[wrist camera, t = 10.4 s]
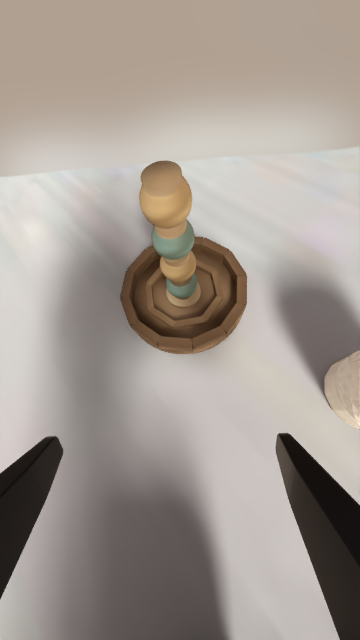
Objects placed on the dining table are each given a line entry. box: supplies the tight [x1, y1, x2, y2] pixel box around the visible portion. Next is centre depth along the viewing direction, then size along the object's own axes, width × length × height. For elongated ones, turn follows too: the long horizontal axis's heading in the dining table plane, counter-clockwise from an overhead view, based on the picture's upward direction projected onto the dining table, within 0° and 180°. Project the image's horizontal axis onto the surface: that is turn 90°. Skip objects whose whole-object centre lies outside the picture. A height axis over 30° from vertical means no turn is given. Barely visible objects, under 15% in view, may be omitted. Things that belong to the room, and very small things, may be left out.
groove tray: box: [120, 237, 247, 354], centre depth 25 cm, size 14×14×2 cm
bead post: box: [139, 161, 201, 308], centre depth 19 cm, size 4×4×14 cm
